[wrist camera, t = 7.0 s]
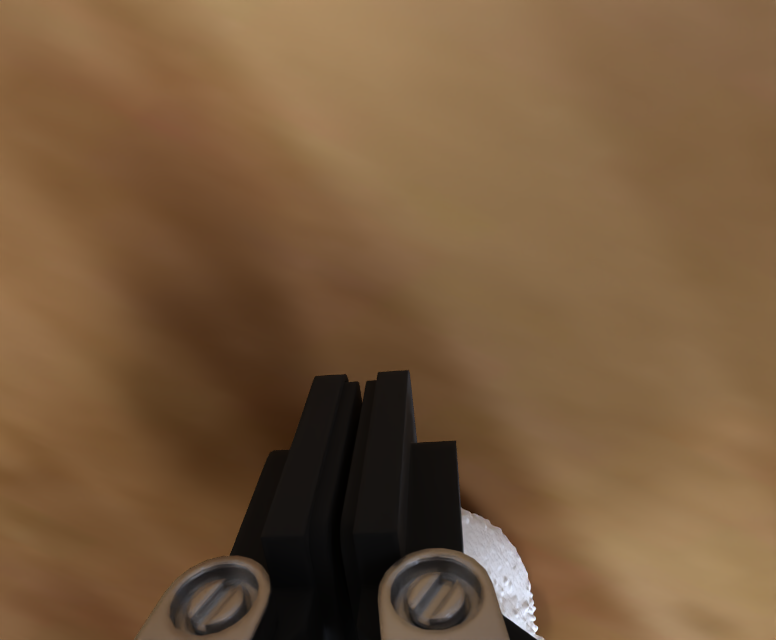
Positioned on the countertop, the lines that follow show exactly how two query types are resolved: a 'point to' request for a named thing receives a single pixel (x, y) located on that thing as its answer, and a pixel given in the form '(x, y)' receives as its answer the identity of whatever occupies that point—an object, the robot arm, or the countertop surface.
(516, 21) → the countertop surface
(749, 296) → the countertop surface
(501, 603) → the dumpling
